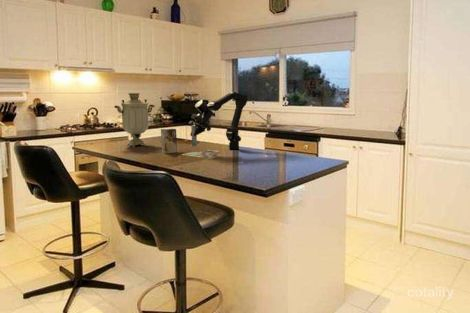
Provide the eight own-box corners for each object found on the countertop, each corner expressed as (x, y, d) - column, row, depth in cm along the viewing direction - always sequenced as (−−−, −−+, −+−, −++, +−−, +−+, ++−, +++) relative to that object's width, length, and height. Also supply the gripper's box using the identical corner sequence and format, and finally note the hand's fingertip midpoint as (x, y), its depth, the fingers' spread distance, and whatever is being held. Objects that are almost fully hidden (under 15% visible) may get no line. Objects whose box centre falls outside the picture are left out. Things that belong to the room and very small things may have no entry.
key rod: (197, 145, 261) (197, 125, 258) (195, 146, 258) (194, 126, 255) (193, 145, 262) (192, 125, 259) (191, 145, 259) (190, 125, 256)
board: (223, 157, 253) (223, 151, 253) (210, 160, 244) (210, 153, 243) (194, 153, 269) (193, 147, 269) (181, 155, 260) (180, 149, 260)
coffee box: (174, 151, 280) (173, 128, 277) (177, 152, 274) (176, 129, 271) (161, 152, 276) (160, 129, 273) (164, 153, 270) (163, 130, 267)
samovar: (155, 141, 327) (152, 92, 319) (157, 146, 302) (155, 93, 295) (117, 143, 319) (113, 93, 312) (117, 148, 294) (113, 93, 287)
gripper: (190, 108, 265) (176, 126, 260) (206, 109, 251) (192, 128, 246) (200, 119, 271) (187, 137, 266) (216, 121, 257) (203, 140, 252)
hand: (192, 135), depth 258 cm, fingers closed on key rod, 3 cm apart
